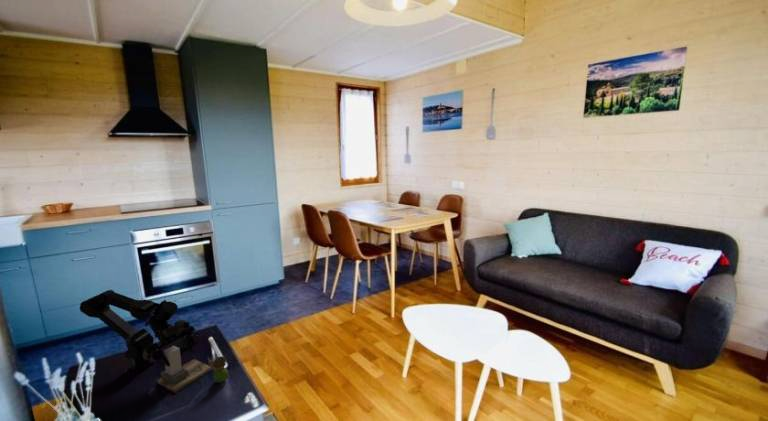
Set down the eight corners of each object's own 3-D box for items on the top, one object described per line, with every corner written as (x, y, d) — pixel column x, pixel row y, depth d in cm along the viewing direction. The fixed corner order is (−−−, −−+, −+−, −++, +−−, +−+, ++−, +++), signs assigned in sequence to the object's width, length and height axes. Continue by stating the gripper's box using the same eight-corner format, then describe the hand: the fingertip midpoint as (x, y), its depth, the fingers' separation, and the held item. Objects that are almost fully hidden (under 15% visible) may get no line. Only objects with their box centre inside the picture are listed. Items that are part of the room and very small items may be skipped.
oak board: (158, 383, 136) (157, 380, 135) (194, 361, 148) (194, 358, 148) (175, 393, 130) (174, 390, 129) (211, 369, 142) (211, 366, 142)
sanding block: (161, 378, 136) (157, 350, 134) (176, 370, 141) (173, 343, 139) (172, 384, 132) (169, 356, 130) (188, 376, 137) (185, 348, 135)
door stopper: (180, 351, 156) (175, 327, 153) (173, 347, 159) (168, 324, 157) (199, 341, 163) (195, 318, 161) (192, 338, 167) (188, 315, 164)
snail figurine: (209, 382, 134) (204, 355, 132) (225, 374, 139) (221, 347, 137) (214, 389, 131) (210, 361, 128) (231, 380, 135) (227, 353, 133)
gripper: (140, 329, 128) (162, 364, 125) (189, 307, 144) (209, 337, 141) (134, 343, 134) (154, 376, 130) (181, 320, 149) (200, 350, 146)
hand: (181, 359), depth 137 cm, fingers open, 9 cm apart
